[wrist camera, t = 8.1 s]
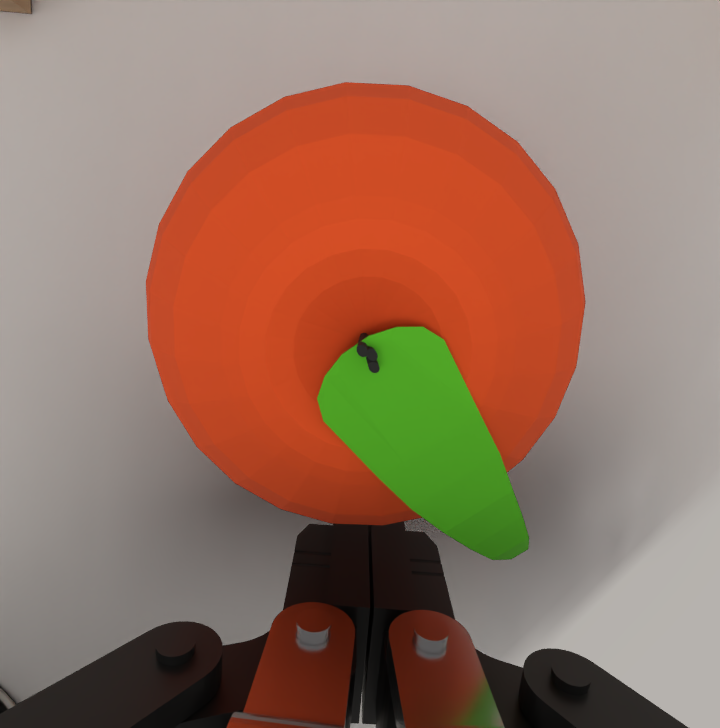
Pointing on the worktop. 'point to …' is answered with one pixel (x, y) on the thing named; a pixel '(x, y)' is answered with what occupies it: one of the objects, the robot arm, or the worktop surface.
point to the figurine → (5, 702)
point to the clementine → (369, 310)
